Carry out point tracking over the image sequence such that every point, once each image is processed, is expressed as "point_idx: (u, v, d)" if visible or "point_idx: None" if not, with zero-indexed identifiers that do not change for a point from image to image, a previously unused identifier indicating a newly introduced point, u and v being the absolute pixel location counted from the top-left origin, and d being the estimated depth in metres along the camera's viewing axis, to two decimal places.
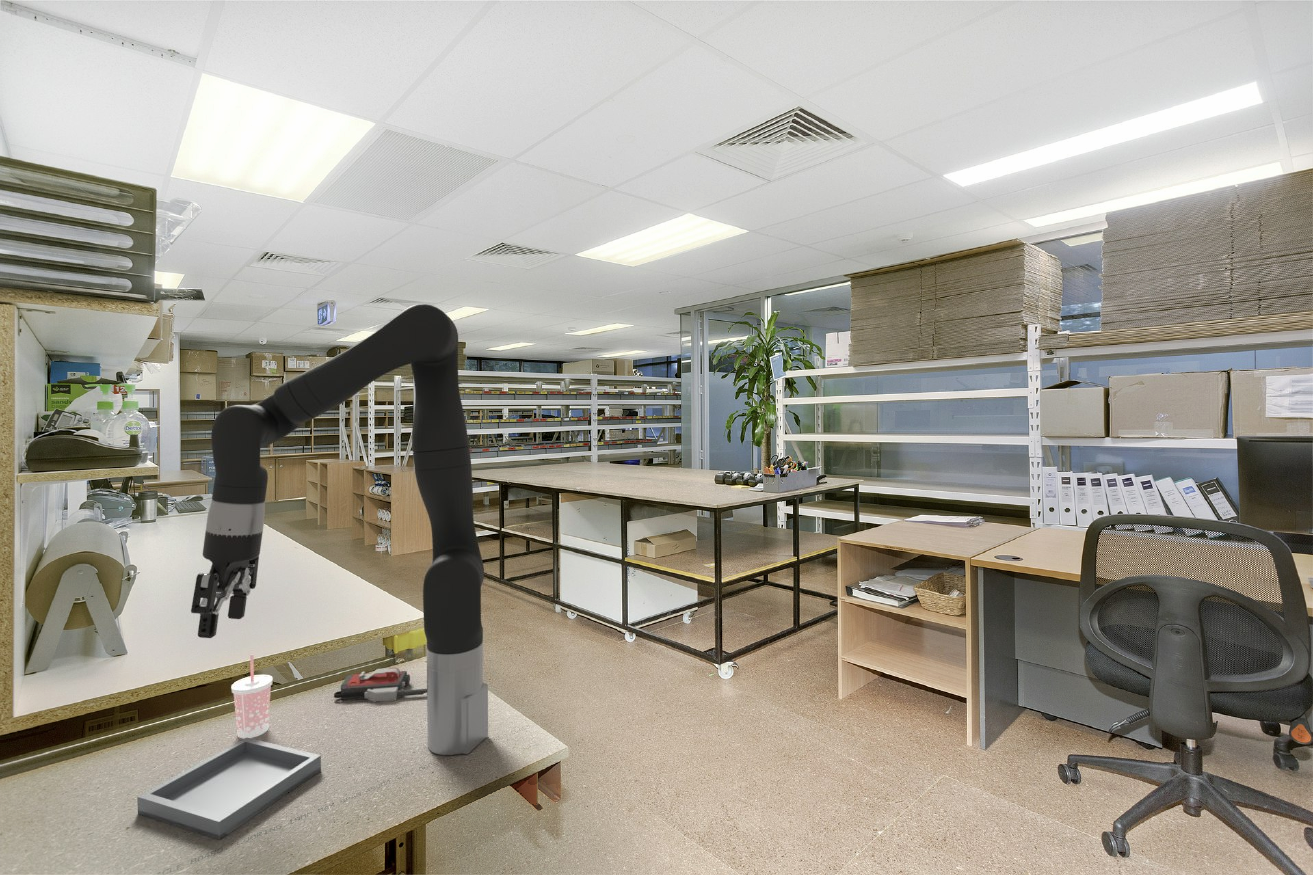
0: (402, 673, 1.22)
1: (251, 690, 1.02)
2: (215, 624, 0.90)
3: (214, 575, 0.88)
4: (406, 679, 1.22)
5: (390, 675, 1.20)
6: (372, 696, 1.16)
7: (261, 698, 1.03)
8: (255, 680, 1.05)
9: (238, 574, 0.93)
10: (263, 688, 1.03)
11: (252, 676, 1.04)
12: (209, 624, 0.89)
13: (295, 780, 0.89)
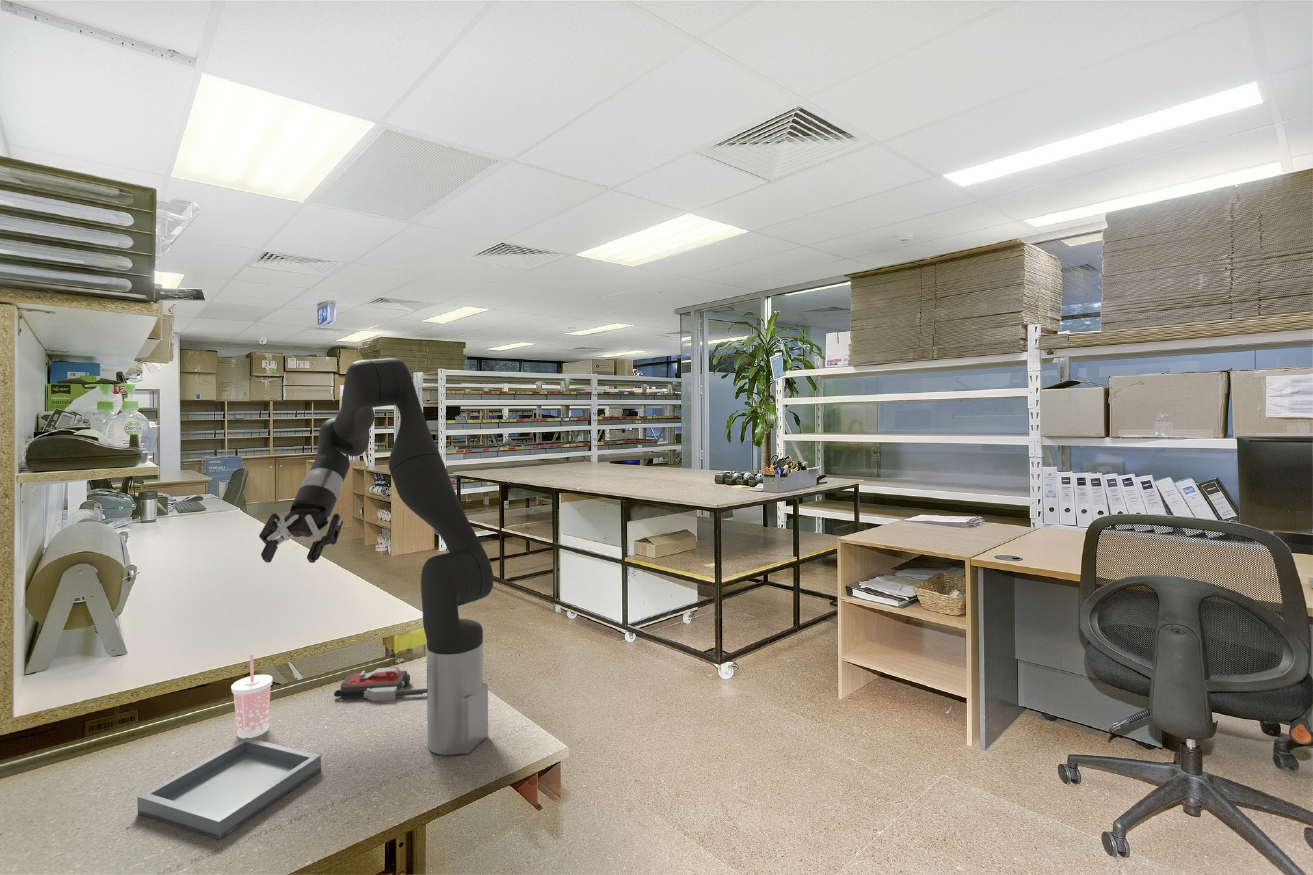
0: (402, 673, 1.23)
1: (251, 690, 1.02)
2: (267, 548, 1.15)
3: None
4: (406, 679, 1.22)
5: (390, 675, 1.20)
6: (371, 696, 1.16)
7: (261, 698, 1.03)
8: (255, 680, 1.05)
9: (295, 516, 1.20)
10: (263, 688, 1.03)
11: (252, 676, 1.04)
12: (264, 548, 1.16)
13: (295, 780, 0.89)
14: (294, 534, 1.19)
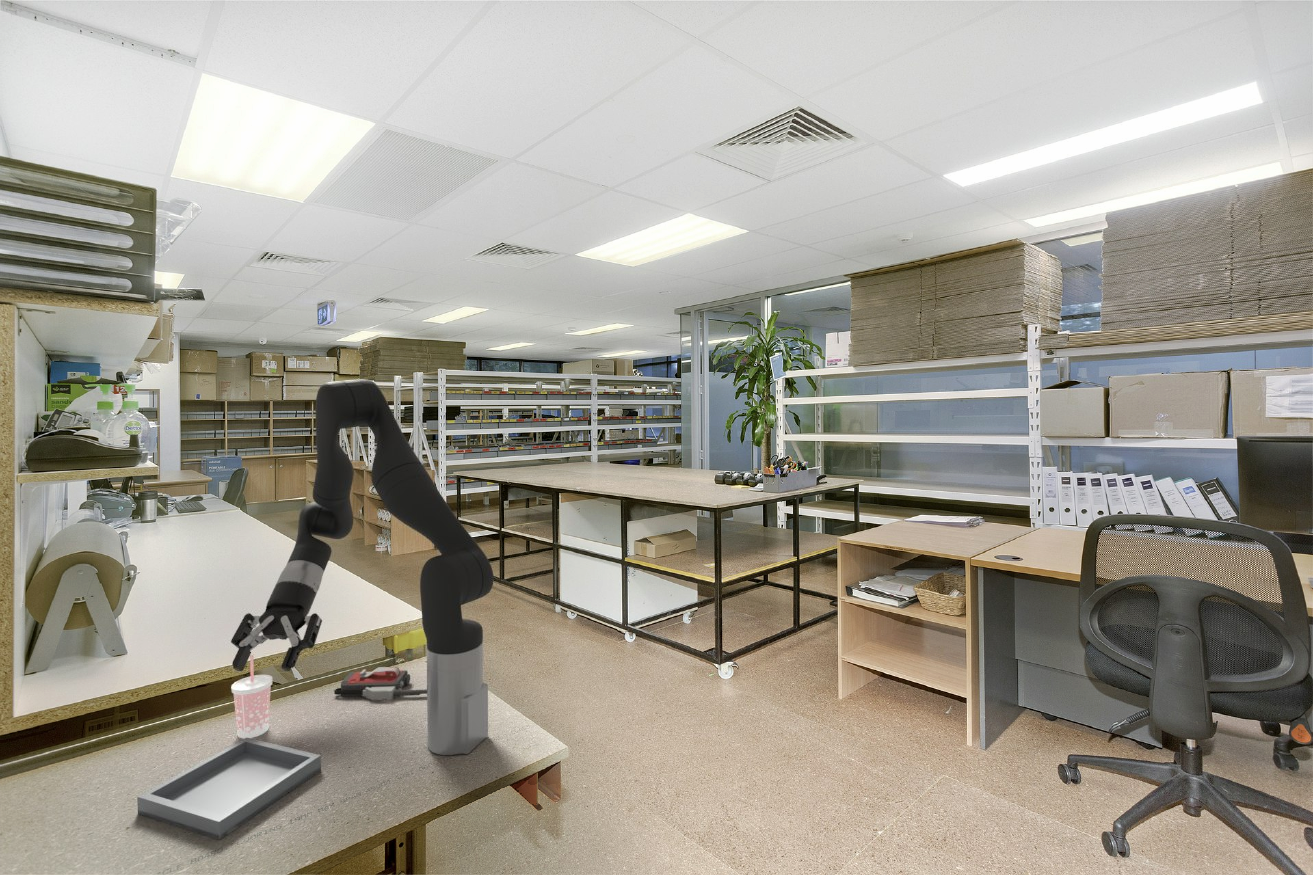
0: (402, 672, 1.23)
1: (251, 690, 1.02)
2: (238, 655, 1.07)
3: (248, 614, 1.13)
4: (405, 679, 1.22)
5: (389, 674, 1.20)
6: (370, 695, 1.17)
7: (261, 698, 1.03)
8: (255, 680, 1.05)
9: (270, 617, 1.12)
10: (263, 688, 1.03)
11: (252, 676, 1.04)
12: (236, 655, 1.08)
13: (295, 780, 0.89)
14: (269, 637, 1.11)
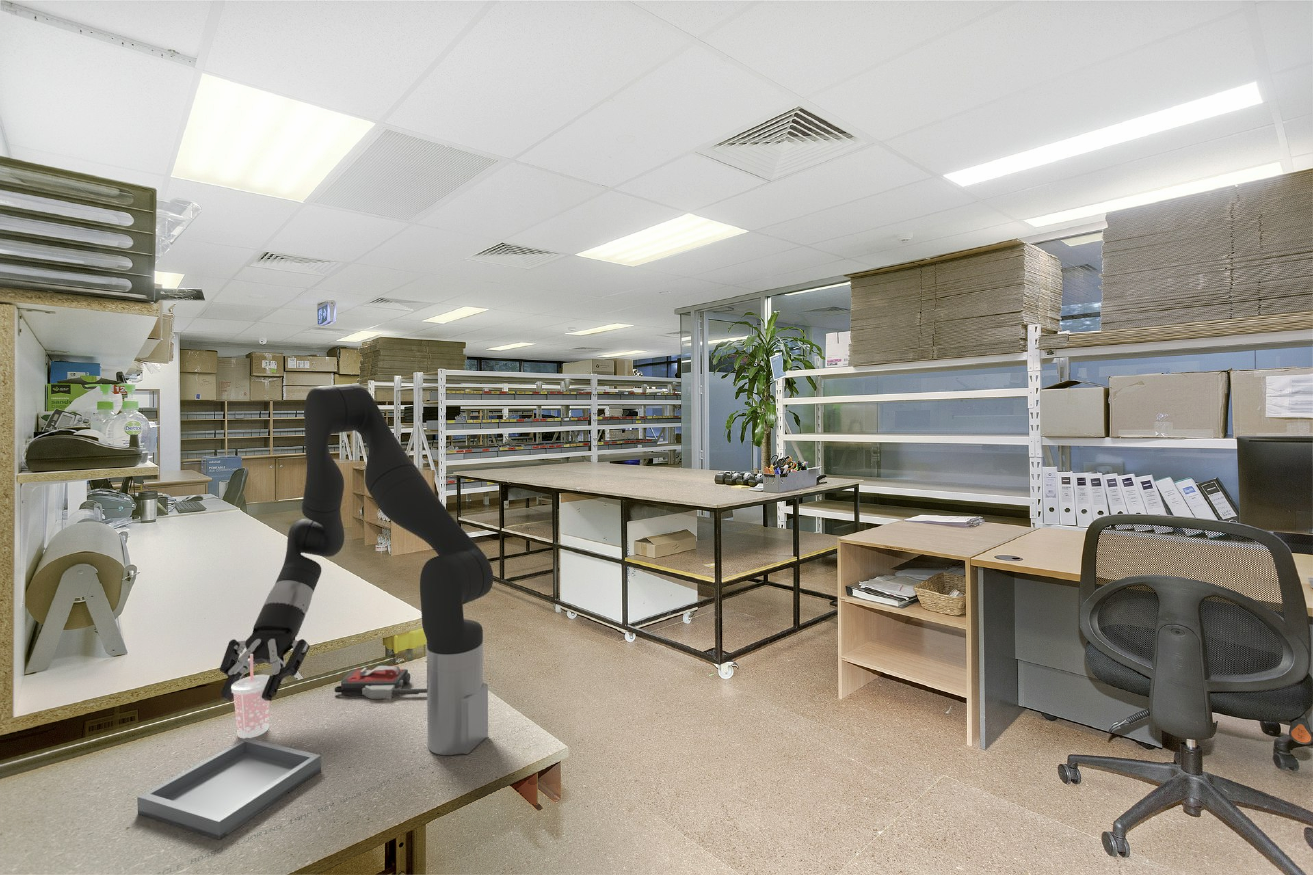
0: (402, 671, 1.23)
1: (251, 690, 1.02)
2: (227, 684, 1.03)
3: (232, 640, 1.09)
4: (405, 678, 1.23)
5: (389, 673, 1.21)
6: (369, 693, 1.17)
7: (261, 698, 1.03)
8: (255, 680, 1.05)
9: (257, 640, 1.08)
10: (263, 688, 1.03)
11: (252, 676, 1.04)
12: (225, 684, 1.04)
13: (295, 780, 0.89)
14: (259, 661, 1.07)
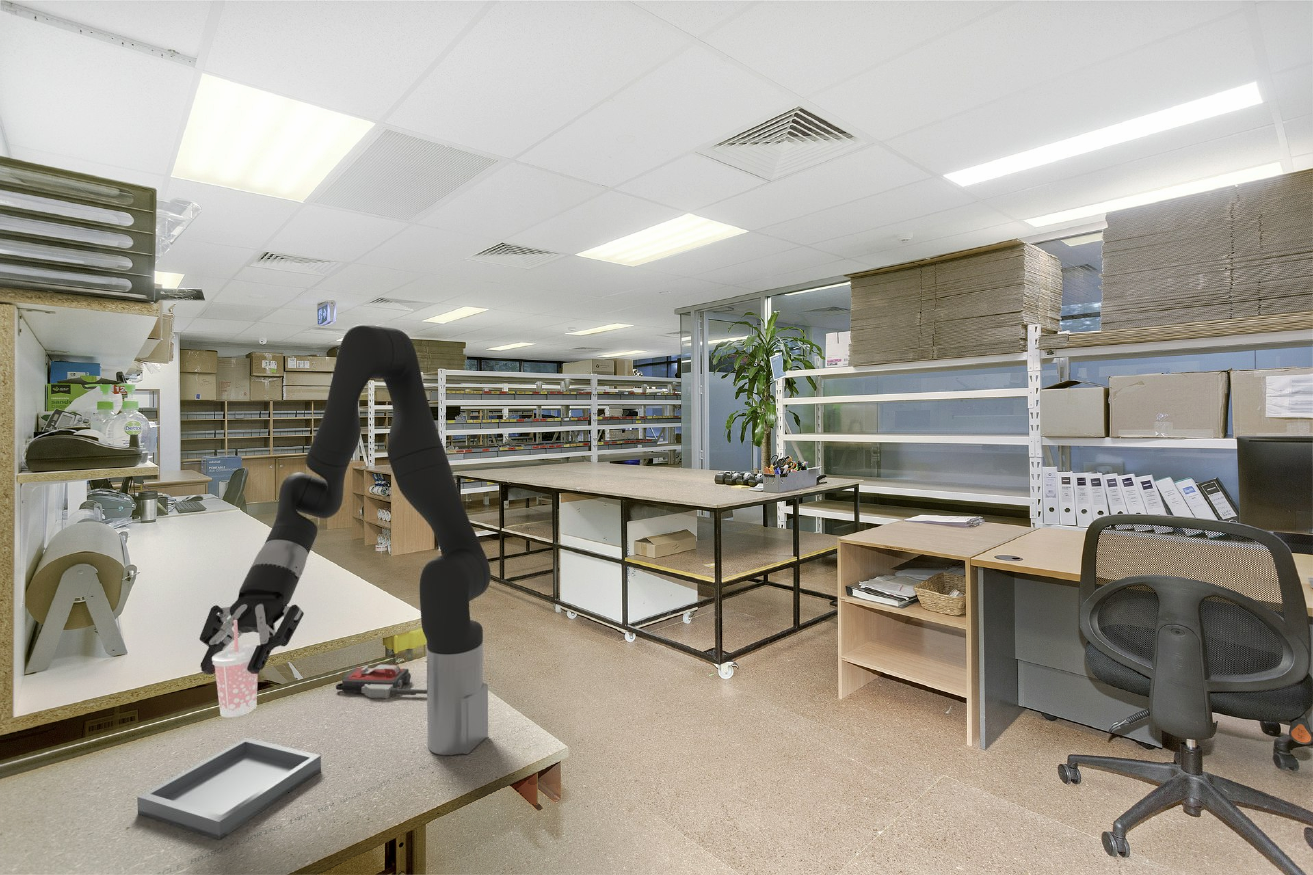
0: (402, 671, 1.23)
1: (234, 661, 0.88)
2: (208, 655, 0.89)
3: (215, 606, 0.94)
4: (405, 677, 1.23)
5: (388, 672, 1.21)
6: (368, 692, 1.18)
7: (247, 671, 0.89)
8: (240, 650, 0.90)
9: (243, 606, 0.94)
10: (249, 659, 0.89)
11: (236, 646, 0.90)
12: (205, 655, 0.90)
13: (295, 780, 0.89)
14: (245, 630, 0.93)
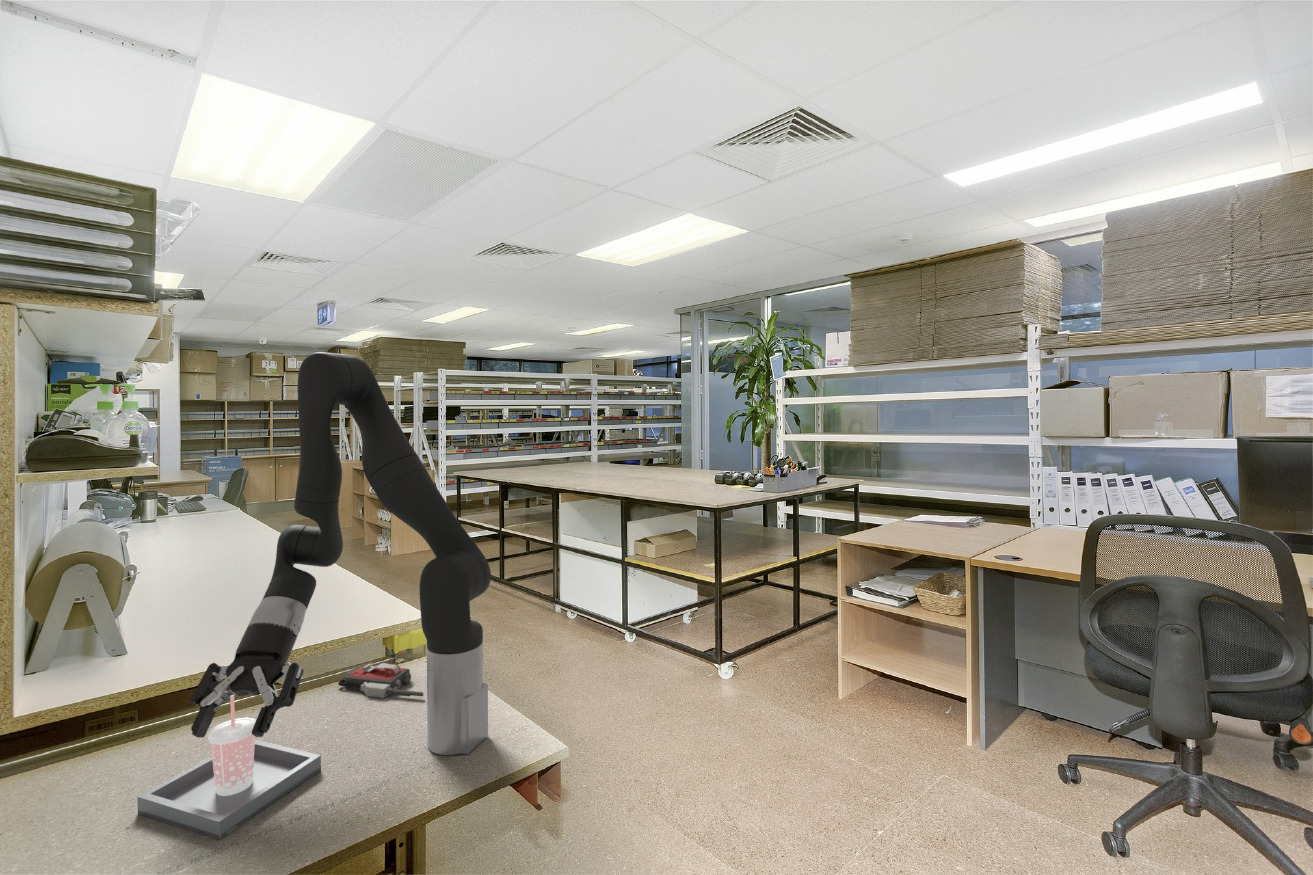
0: (402, 671, 1.23)
1: (231, 738, 0.86)
2: (199, 718, 0.87)
3: None
4: (404, 678, 1.23)
5: (388, 671, 1.22)
6: (365, 690, 1.18)
7: (244, 747, 0.87)
8: (236, 726, 0.88)
9: (240, 668, 0.91)
10: (246, 736, 0.87)
11: (233, 721, 0.88)
12: (196, 717, 0.88)
13: (295, 780, 0.89)
14: (238, 693, 0.91)
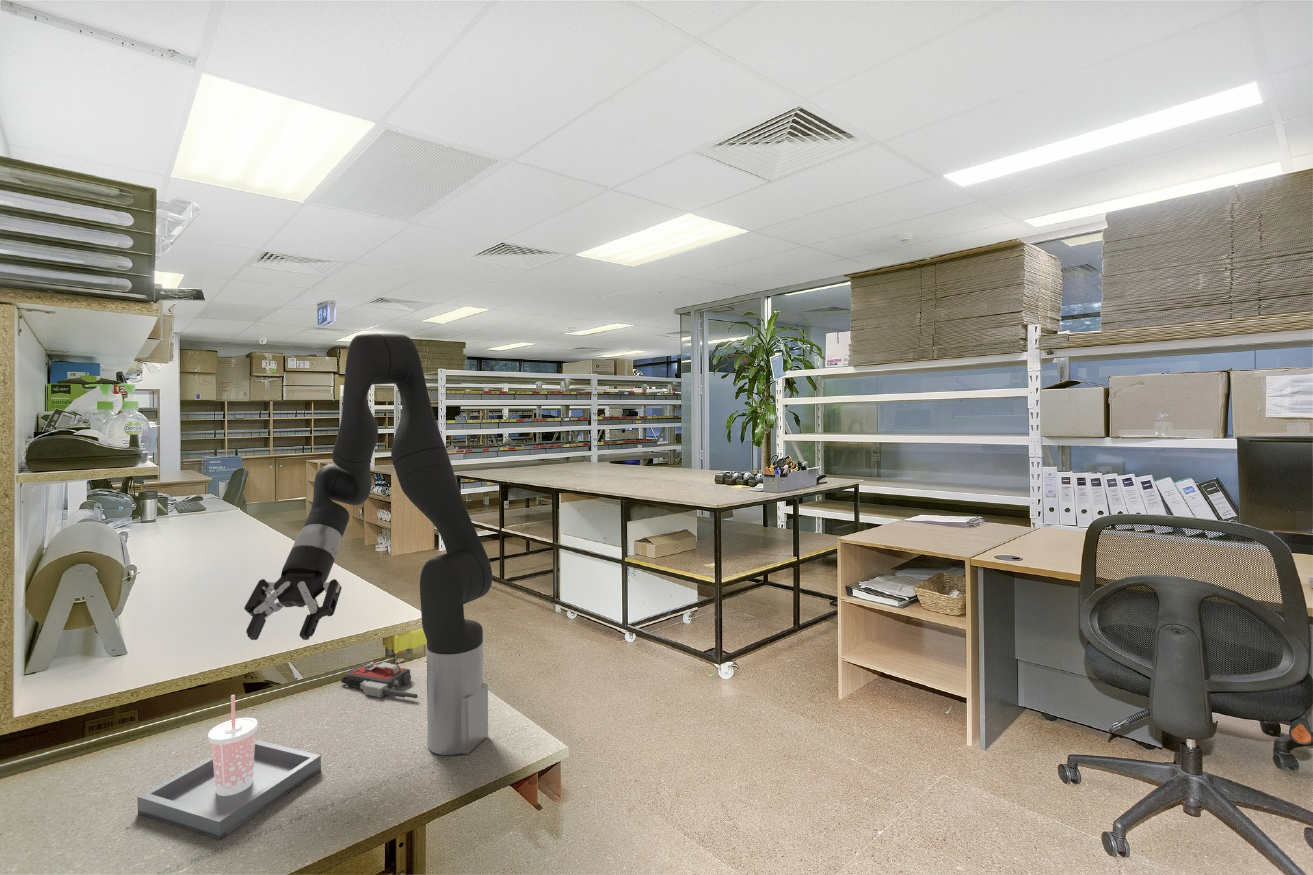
0: (402, 671, 1.23)
1: (232, 738, 0.86)
2: (253, 623, 0.99)
3: (262, 580, 1.05)
4: (403, 678, 1.23)
5: (387, 671, 1.22)
6: (364, 689, 1.19)
7: (244, 748, 0.87)
8: (237, 726, 0.88)
9: (286, 583, 1.04)
10: (246, 736, 0.87)
11: (233, 721, 0.88)
12: (250, 623, 1.00)
13: (295, 780, 0.89)
14: (285, 604, 1.03)
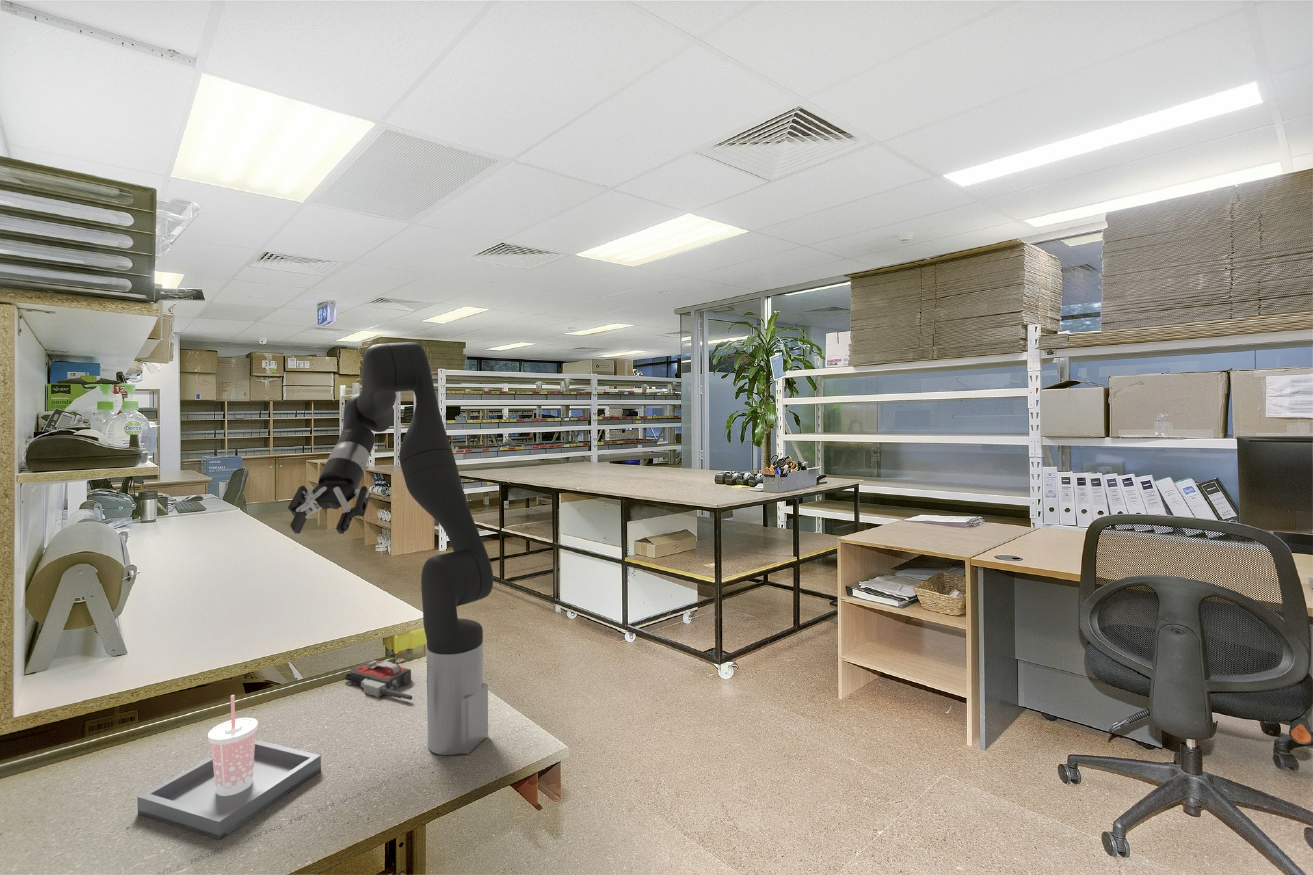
0: (402, 671, 1.23)
1: (231, 738, 0.86)
2: (296, 519, 1.15)
3: None
4: (403, 678, 1.23)
5: (387, 670, 1.22)
6: (364, 687, 1.20)
7: (244, 748, 0.87)
8: (237, 726, 0.88)
9: (323, 488, 1.20)
10: (246, 736, 0.87)
11: (233, 721, 0.88)
12: (293, 519, 1.16)
13: (295, 780, 0.89)
14: (322, 506, 1.19)
